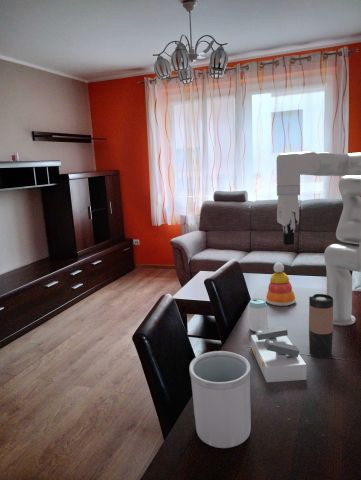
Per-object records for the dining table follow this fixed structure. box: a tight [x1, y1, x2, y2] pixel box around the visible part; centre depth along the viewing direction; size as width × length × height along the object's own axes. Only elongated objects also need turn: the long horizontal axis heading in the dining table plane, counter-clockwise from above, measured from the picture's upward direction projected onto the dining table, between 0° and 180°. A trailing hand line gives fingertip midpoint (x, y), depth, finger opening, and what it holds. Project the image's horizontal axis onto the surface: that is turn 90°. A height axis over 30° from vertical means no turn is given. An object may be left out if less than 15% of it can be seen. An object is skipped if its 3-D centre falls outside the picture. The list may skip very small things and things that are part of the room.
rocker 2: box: [264, 339, 300, 357], centre depth 117 cm, size 4×10×2 cm, turn 91°
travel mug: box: [308, 293, 334, 359], centre depth 127 cm, size 8×8×20 cm
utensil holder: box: [189, 350, 252, 449], centre depth 93 cm, size 15×15×18 cm
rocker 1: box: [255, 325, 289, 340], centre depth 128 cm, size 4×10×2 cm, turn 91°
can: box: [248, 298, 268, 333], centre depth 148 cm, size 7×7×12 cm
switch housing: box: [250, 334, 307, 383], centre depth 123 cm, size 22×12×6 cm, turn 1°
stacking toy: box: [264, 261, 297, 307], centre depth 175 cm, size 14×14×20 cm
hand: (288, 244), depth 129 cm, fingers closed
